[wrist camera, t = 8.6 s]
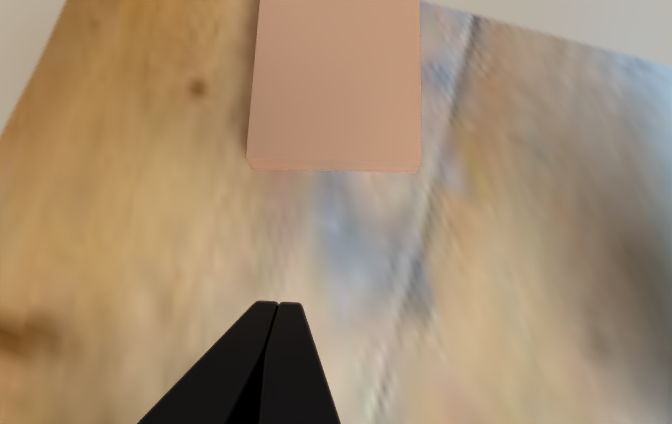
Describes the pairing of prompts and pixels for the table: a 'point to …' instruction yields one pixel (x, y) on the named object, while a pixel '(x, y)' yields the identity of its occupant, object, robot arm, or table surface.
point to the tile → (336, 86)
